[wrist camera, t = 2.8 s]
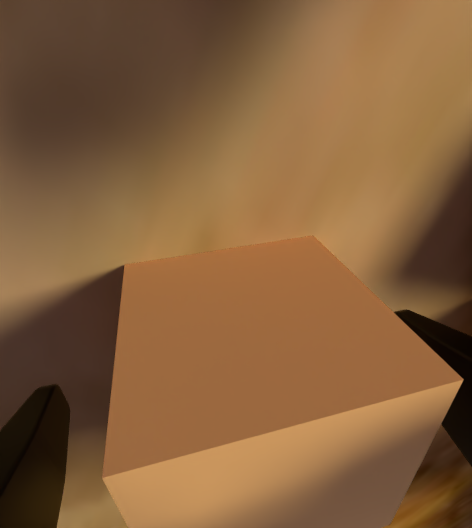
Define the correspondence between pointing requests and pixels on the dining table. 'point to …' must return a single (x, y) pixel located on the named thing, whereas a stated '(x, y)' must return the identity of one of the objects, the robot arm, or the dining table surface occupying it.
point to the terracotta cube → (266, 393)
